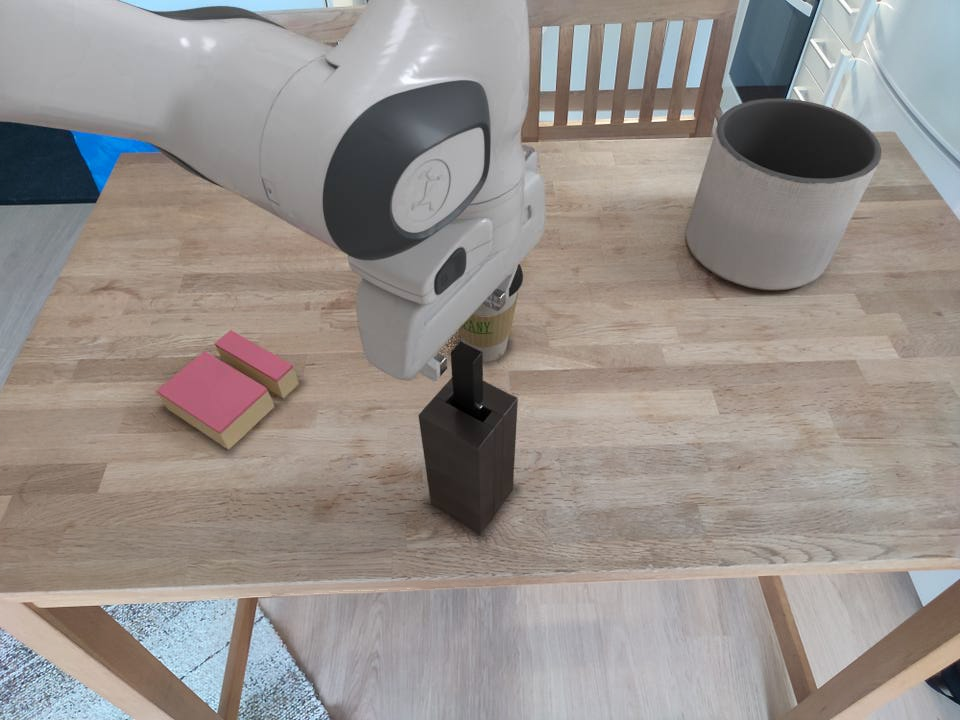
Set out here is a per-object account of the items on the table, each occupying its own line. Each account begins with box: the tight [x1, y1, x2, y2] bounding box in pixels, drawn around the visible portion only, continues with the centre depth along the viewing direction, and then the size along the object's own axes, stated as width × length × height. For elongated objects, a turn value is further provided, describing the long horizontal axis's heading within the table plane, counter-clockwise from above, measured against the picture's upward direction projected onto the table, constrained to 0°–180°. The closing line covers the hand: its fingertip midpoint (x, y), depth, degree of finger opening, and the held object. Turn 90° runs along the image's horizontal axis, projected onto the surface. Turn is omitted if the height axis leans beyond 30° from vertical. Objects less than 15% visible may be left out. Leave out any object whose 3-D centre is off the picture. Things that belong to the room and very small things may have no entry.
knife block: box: [417, 377, 519, 536], centre depth 71 cm, size 7×7×18 cm
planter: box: [685, 97, 882, 291], centre depth 98 cm, size 22×22×20 cm
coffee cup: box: [457, 263, 524, 363], centre depth 87 cm, size 10×10×15 cm
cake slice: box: [213, 329, 300, 399], centre depth 89 cm, size 3×12×4 cm, turn 56°
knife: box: [450, 340, 484, 422], centre depth 67 cm, size 2×3×25 cm, turn 57°
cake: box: [155, 350, 275, 450], centre depth 85 cm, size 8×12×4 cm
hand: (466, 336), depth 56 cm, fingers open, 8 cm apart
